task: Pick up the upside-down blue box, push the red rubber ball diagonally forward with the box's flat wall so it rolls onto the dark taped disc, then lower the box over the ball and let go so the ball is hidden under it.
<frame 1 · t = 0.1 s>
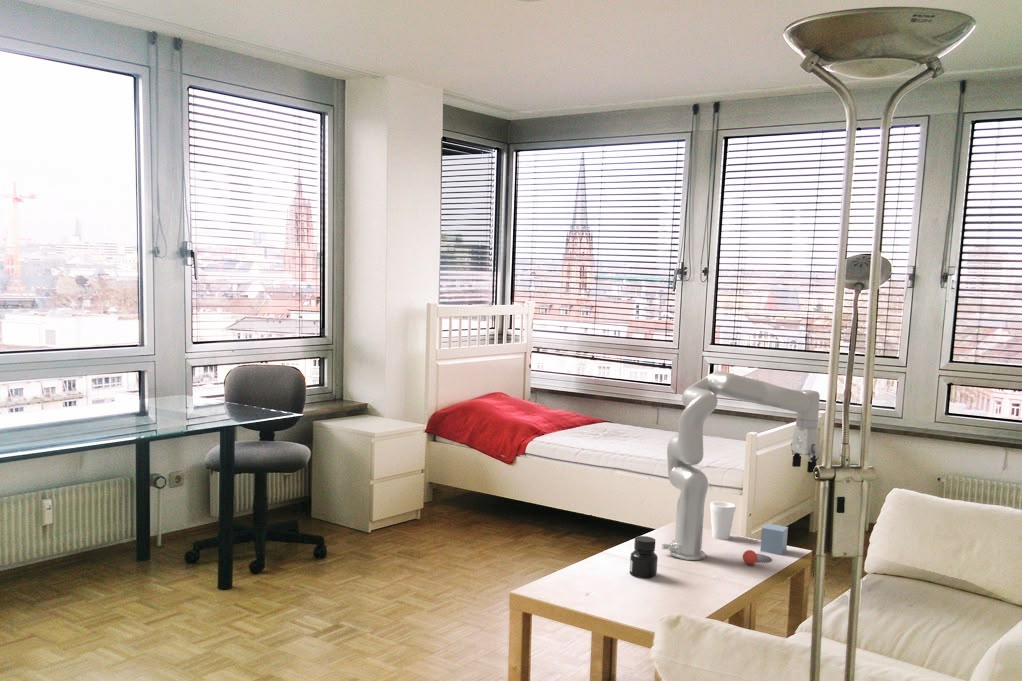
hand: (803, 469, 315), 31 cm above the table, tool pointing down, fingers open, 9 cm apart
foam cup: (720, 537, 331), on the table
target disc: (757, 558, 306), on the table
blue box: (773, 550, 317), on the table
ball: (750, 557, 299), on the table
ink bottle: (642, 575, 282), on the table
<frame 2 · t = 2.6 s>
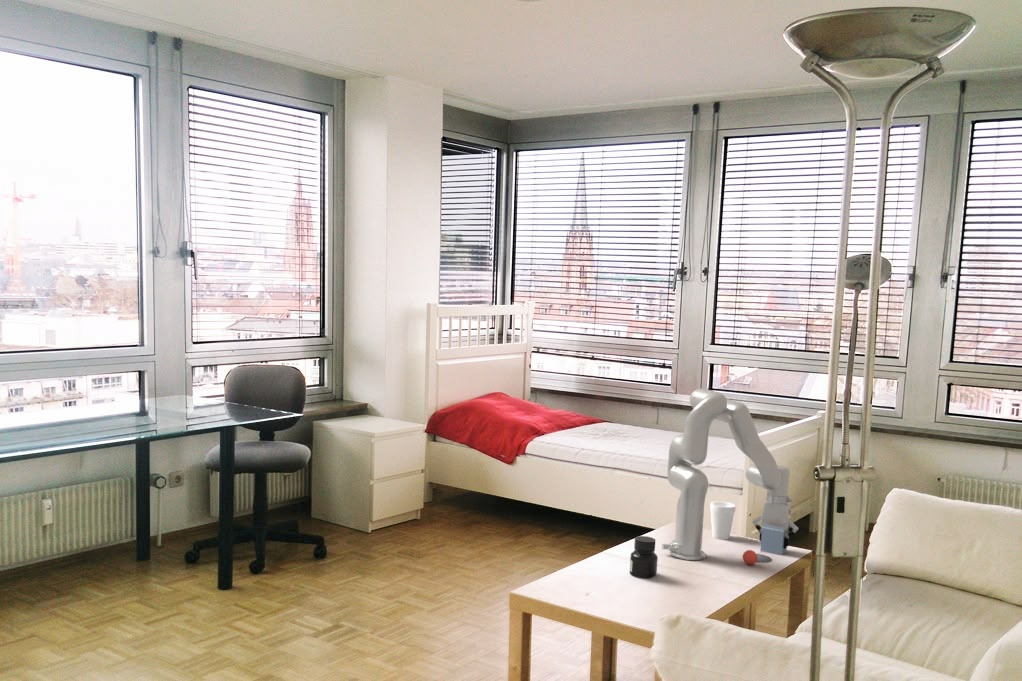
hand: (773, 545, 317), 2 cm above the table, tool pointing down, fingers closed on blue box, 7 cm apart
blue box: (773, 550, 317), on the table, touching gripper
everything else where it was.
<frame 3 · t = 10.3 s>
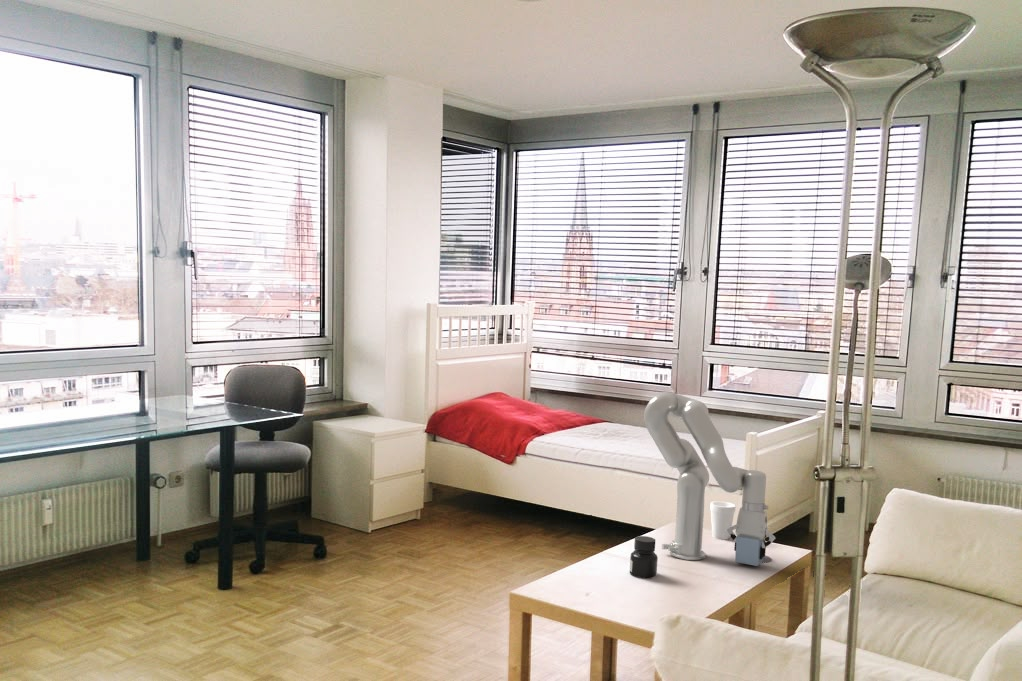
hand: (749, 555, 298), 3 cm above the table, tool pointing down, fingers closed on blue box, 7 cm apart
blue box: (749, 561, 298), point 1 cm above the table, touching gripper
ball: (756, 551, 306), on the table
everything else where it was.
when the fingers open (2 cm above the table, at t = 16.5 s): blue box stays where it is, on the table.
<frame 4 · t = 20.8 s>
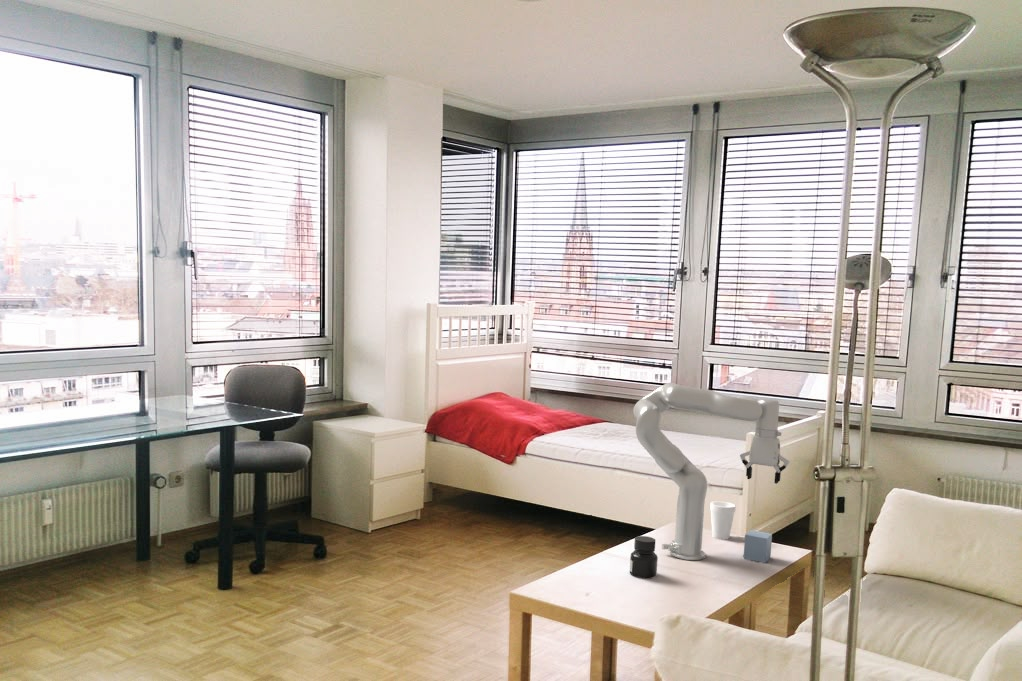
hand: (762, 480, 305), 28 cm above the table, tool pointing down, fingers open, 9 cm apart
blue box: (757, 558, 306), on the table
everything else where it was.
at the end: ball 0.4 cm from the blue box (horizontally); blue box on the table; ball moved 8.7 cm from its start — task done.
